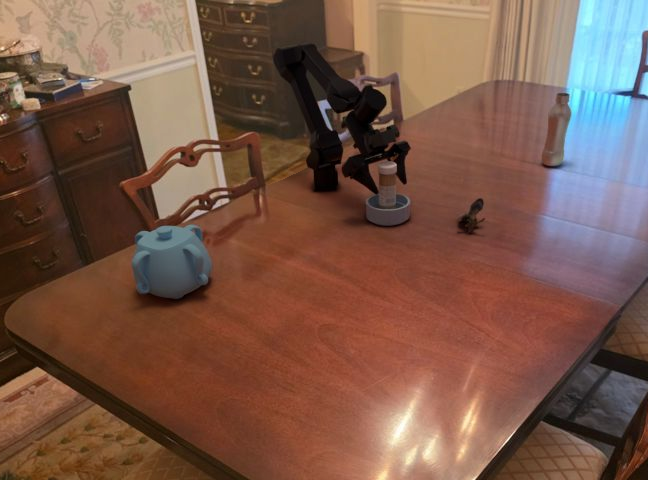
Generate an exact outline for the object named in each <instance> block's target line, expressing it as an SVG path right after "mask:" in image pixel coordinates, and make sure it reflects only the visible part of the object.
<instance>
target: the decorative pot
mask: <svg viewBox="0 0 648 480" xmlns="http://www.w3.org/2000/svg"><path fill="white" fill-rule="evenodd" d="M203 235H204V234H203V230H202V229H201V227H200V226H198V225H195V224H188V225H186V226H184V227H181V226H177V225H176V226H175V225H161V226H158V227H157V228H156V229H153V230H152V231H147V230H141V231H139V232H138V233H136V235H135V236H134V242H135V245H136V247H135V251H134V255H133V257H132V258H131V270H132V272H133V278H134V281H135V283H136V286H135V289H136V291H137V293H139V294H141V295H145V294H148V293H149V294H152V295H153V296H156V297H159V298H166V299H173V300H179V299H181V298H183V297H184V295H187V294H189V293H191V292H194V291H196V290H197V289H199V288H200V287H201V286H206V285H207V284H208V283H209V277H210V275H211V274H212V270H213V261H212V259H211V256H210V254H209V252H208V249H207V248H206V247H205V245H204V243H203V241H204V237H203Z"/></svg>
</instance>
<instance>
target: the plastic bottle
mask: <svg viewBox="0 0 648 480" xmlns="http://www.w3.org/2000/svg"><path fill="white" fill-rule="evenodd" d="M570 96H571V95H570V93H568V92H558V93H556V96H555V99H554V104H553V105H552V107H551V108H550V109H549V112H548V115H547V133H546V138H545V143H544V148H543V149H542V153H541V162H542V164H543V165H545V166H547V167H558V166H560V165H561V164H562V163H563V161H564V160H565V159H564V158H565V143H566V136H567V132H568V128H569V126H570V125H569V124H570V121H571V117H572V109H571V107H570V105H569V102H570V98H571V97H570Z"/></svg>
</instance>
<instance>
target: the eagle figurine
mask: <svg viewBox="0 0 648 480" xmlns="http://www.w3.org/2000/svg"><path fill="white" fill-rule="evenodd" d="M484 204H485V203H484V199H483V198H482V197H479V198H477V199H475V201H473V202H472V203H471V204H470V207H469V211H468V213H467V212H464V213H462V214H460V215H459V216H458V217H457V218H456V221H457V222H458V223H461V222H462V221H464V222H465V223H466V224H465V225H464V226H465V227H467V228H468V231H467V234H468V235H469V234H470V233H471V231H473V230H474V228H475V227H478V228H480V224H481V223H482V222H484V221H485V220H486V217H483V218H481V219H479V220H478V219H477V215H478V214H479V212H481V211H482V210H483V208H484Z"/></svg>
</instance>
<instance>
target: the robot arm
mask: <svg viewBox="0 0 648 480" xmlns="http://www.w3.org/2000/svg"><path fill="white" fill-rule="evenodd" d="M272 62H273V65H274V66H275V68H276V70H277V72H278V74H279V76H280V77H281V78H282V79H283V80H285V81H286V82H287V83H288V84H289V85H290V87H291V89H292V92H293V94H294V97H295V99H296V102H297V104H298V107H299V109H300V112H301V115H302V117H303V120H304V122H305V124H306V126H307V129H308V131H309V135H310V137H309V147H308V148H309V150H310V152H309V154H308V155H307V157H306V158H305V163H306V166H307V168H308V169H311V170H312V171H313V172H312V173H313V174H312V175H313V192H326V191H337V190H338V186H339V171H338V168H336V166H337V165H341V164H342V160H343V156H344V147H343V142H342V140H341V138H340V136H339V132H338V131H337V130H336V129H330V128H329V127H328V125H327V123H326V120H325V118H324V115H323V113H322V111H321V108H320V105H319V102H318V101H317V97H316V95H315V93H314V90H313V88H312V86H311V83H310V81H309V78H308V73H310V74H311V75H312V77H313V78H314V79H315V81H316V82H317V83H318V84H319V86H321V88H322V89H323V91H324V92H325V95H326V96H325V97H326V102H327V103H328V105H329V107H330V108H331V110H332V111H333V112H334V113H335V114H337V115H340V114H344V113H347V112H348V113H347V114H346V115H344V116H342V121H341V123H340V128H341V129H342V130H343V129H347V131H348V132H349V134H350V136H351V139H352V140H353V142H354V143H353V145H352V147H353V149H354V150H358V152H359V153H358V154H355V155H351V156H348V157H347V159H346V160H345V162H344V163H343V164H342V166H341V173H342V175H343V177H344V179H346V178H349V179H350V180H354V181H356V182H357V183H359V184H361V185H362V186H363V187H365V188H366V189H367V190H369V191H370V192H371V193H373V195H375V194H376V195H377V194H378V193H379V187H378V186H377V184H376V182H375V180H374V178H373V176H372V174H371V172H370V166H369V165H373V164H375V163H379V162H383V161H391V162H395V163H396V164H397V172H396V178H398V180H399V181H400V183H402V185H403V186H405V185H407V183H408V180H407V171H406V157H407V156H408V155H409V152H410V151H411V150H412V147H411V145H410V143H409V142H408V141H407V140H401V141H398V142H397V138H399V137H400V136H401V135H400V130H399V127H398V126H397V124H396V123H393V124H390V125H388V126H386V128H385V130H382V131H380V129H378V128H374V126H373V123H374V122H376V120H377V118H378V117H379V116H380V115H381V113H382V112H383V111H384V109H385V108H386V107H387V105H388V104H387V103H388V100H387V97H386V95H385V94H384V93H383V92H382V91H380V90H379V89H377V88H374V87H373V85H372V84H369V85H365V86H364V87H363V88H362V90H360V89H359V87H358V86H356V85H355V84H354V83H353V82H352V81H350V80H349V79H346V78H343V77H342V76H340V75H339V74H338V73H337V72H336V70H335V69H334V68H333V67H332V66H331V65H330V64H329V62H328V61H327V60H326V59H325V57H324V56H323V55H322V54H321V53H320V51H319V50H318V48H317V45H316V44H315V43H312V42H305V43H300V44H294V45H287V46H283V47H277V48H276V49H275V52H274V54H273V55H272ZM392 143H393V144H392ZM390 144H392V145H391V146H390ZM389 146H390V147H389ZM388 148H389V149H388ZM387 149H388V150H387Z"/></svg>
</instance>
